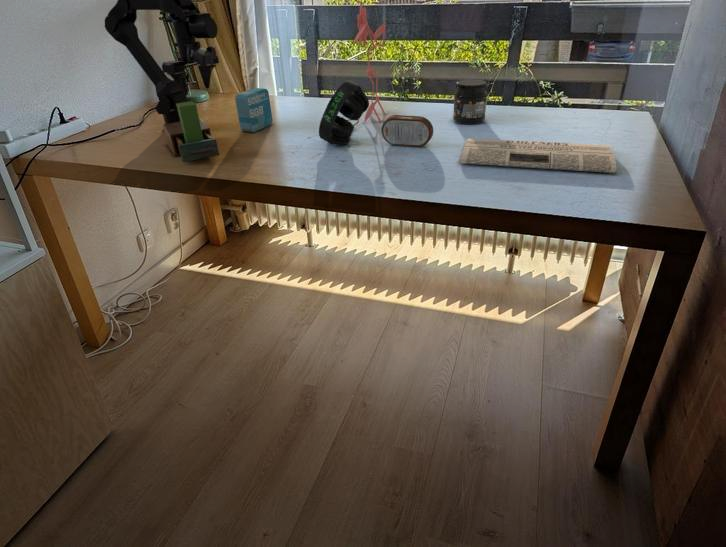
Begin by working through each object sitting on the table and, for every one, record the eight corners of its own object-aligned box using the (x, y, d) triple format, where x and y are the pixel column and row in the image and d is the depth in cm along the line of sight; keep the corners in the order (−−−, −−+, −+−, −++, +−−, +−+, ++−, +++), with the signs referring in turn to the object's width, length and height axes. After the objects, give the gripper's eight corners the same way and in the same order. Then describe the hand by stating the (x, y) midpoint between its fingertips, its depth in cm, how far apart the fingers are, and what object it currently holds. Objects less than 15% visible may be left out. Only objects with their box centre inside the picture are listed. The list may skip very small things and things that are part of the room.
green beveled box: (187, 149, 144) (176, 103, 137) (202, 146, 145) (192, 101, 138) (190, 153, 140) (179, 106, 133) (206, 150, 142) (195, 104, 135)
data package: (251, 133, 161) (245, 95, 155) (240, 132, 163) (234, 94, 157) (273, 123, 170) (268, 87, 163) (262, 122, 172) (257, 86, 165)
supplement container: (457, 115, 169) (460, 78, 162) (488, 117, 165) (491, 80, 158) (448, 123, 161) (450, 85, 154) (480, 126, 157) (483, 86, 150)
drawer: (222, 158, 138) (219, 142, 136) (186, 166, 134) (181, 149, 132) (209, 144, 150) (205, 128, 148) (175, 150, 146) (171, 134, 144)
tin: (433, 145, 143) (434, 115, 138) (430, 148, 140) (431, 118, 136) (383, 142, 147) (383, 113, 143) (380, 145, 145) (379, 116, 140)
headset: (351, 159, 161) (332, 142, 132) (316, 138, 162) (289, 118, 134) (379, 110, 158) (365, 82, 130) (343, 89, 160) (322, 58, 131)
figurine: (391, 108, 181) (389, 0, 162) (378, 128, 159) (375, 6, 141) (350, 108, 184) (344, 1, 165) (333, 127, 162) (323, 8, 144)
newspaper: (459, 166, 127) (460, 155, 126) (468, 143, 143) (469, 133, 141) (614, 175, 117) (617, 164, 116) (606, 149, 133) (608, 139, 131)
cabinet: (214, 149, 149) (209, 128, 145) (175, 156, 144) (170, 134, 141) (204, 138, 159) (199, 118, 155) (167, 144, 155) (162, 124, 151)
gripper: (181, 43, 140) (193, 100, 148) (226, 34, 153) (235, 87, 162) (154, 42, 145) (168, 97, 153) (200, 34, 158) (211, 85, 166)
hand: (197, 91), depth 158 cm, fingers open, 9 cm apart
